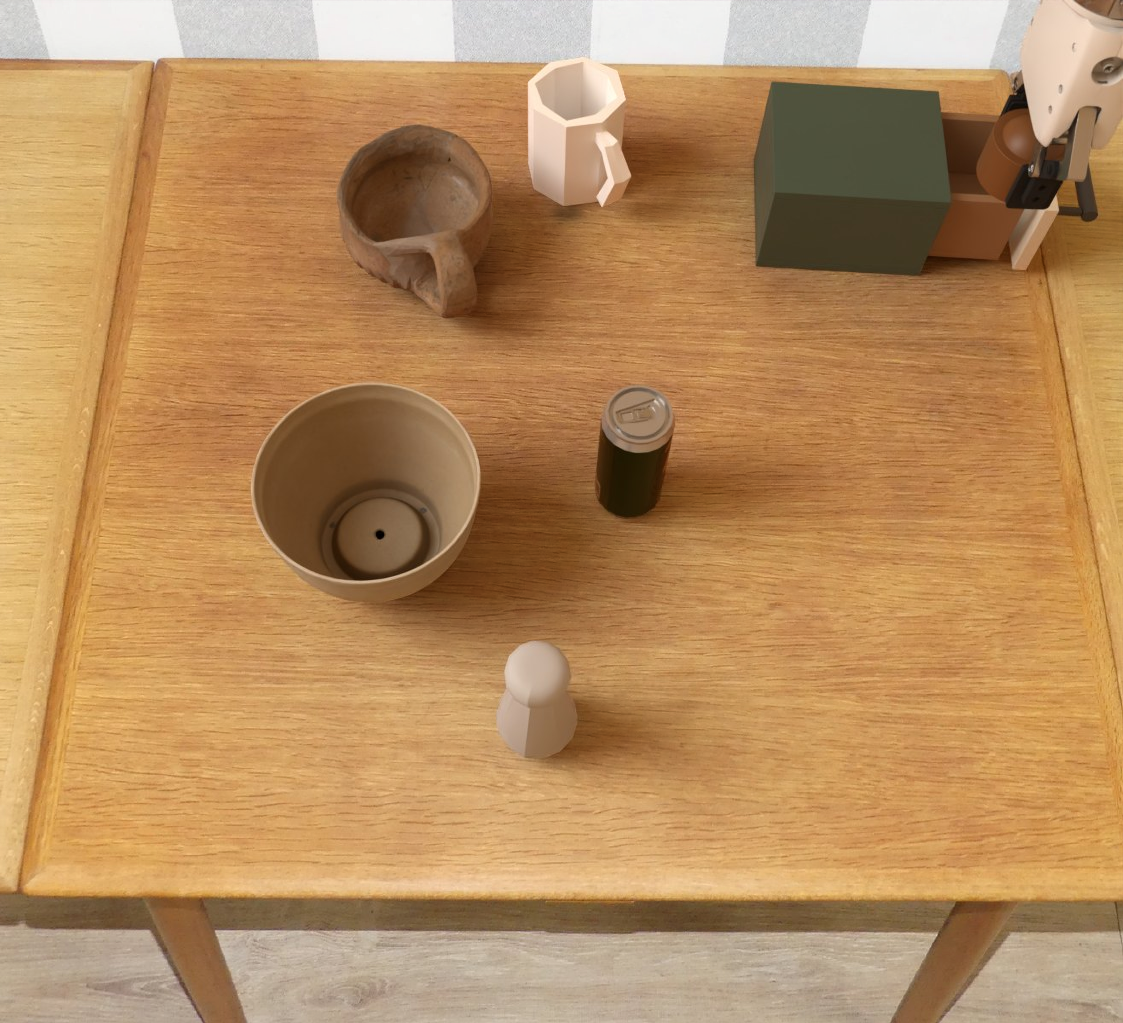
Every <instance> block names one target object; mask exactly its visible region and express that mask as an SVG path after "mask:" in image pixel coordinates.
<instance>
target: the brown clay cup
mask: <svg viewBox="0 0 1123 1023" xmlns="http://www.w3.org/2000/svg"><path fill="white" fill-rule="evenodd" d="M474 148H475V147H473V146H472V145H471V144H470V143H469V142H468V141H467V140H466V139H465V138H463V137H461V136H459V135H457V134H456V133H453V132H451V131H448V130H444V129H441V128H438V127H434V126H430V125H424V124H409V125H403V126H400V127H398V128H395V129H392V130H389V131H386V132H385V133H383V134H381V135H379V136H378V137H376V138H374V139H373V140H372V141H369V142H368V143H367V144H364V145H362V147H360V148H359V149H358V150H357V151H355V153H353V154H352V156H351V157H350V159H349V160H348V162H347V164H346V166H345V167H344V170H343V172H342V174H341V176H340V179H339V181H338V185H337V189H336V200H337V208H338V213H339V215H338V221H339V222H338V226H339V232H340V234H341V235H340V236H341V239H342V242H343V243H344V244H345V246H346V250H347V252H348V254H349V255H350V257H351V258H352V259H353V260H354V261H353V262H354V263H355V264H356V265H357V266H358V267H360V268H361V269H362V270H364V271H365V272H366V273H367V274H368V275H370V276H371V277H373V278H375V279H377V280H379V281H380V282H381V283H384V284H389V285H390V286H391V287H392V288H394V289H404V290H407V291H410V292H413V293H414V294H415V295H416V296H417V297H418V298H420V299H421V300H422V301H423V302H424V303H425V304H426V305H427V306H428V307H429V308H430V309H431V310H433V312H434V313H435V314H436V315H438V317H440V318H442V319H454V318H455V319H456V318H460V317H462V316H465V315H467V314H469V313H471V312H472V311H474V310H475V308H476V307H477V306H478V298H479V293H478V286H477V281H476V277H475V271H474V269H475V268H476V267H477V266H478V265H479V262H480V260H481V257H482V255H483V254H484V253H485V251H486V249H487V247H488V245H489V242H490V240H491V238H492V237H491V236H492V232H493V229H494V228H493V226H494V225H493V224H494V212H493V205H492V199H493V191H494V190H493V183H492V179H491V175H490V172H489V170H488V168H487V166H486V164H485V163H484V161H483V159H482V157H481V156H480V155H479V153H478V152H477V151H476V149H474Z"/></svg>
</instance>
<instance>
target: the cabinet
mask: <svg viewBox="0 0 1123 1023" xmlns="http://www.w3.org/2000/svg"><path fill="white" fill-rule="evenodd" d="M941 107H942V106H941V99H940V91H938V90H925V89H908V88H907V89H905V88H890V87H872V86H871V87H870V86H857V85H856V86H855V85H841V84H840V85H837V84H821V83H804V82H803V83H802V82H788V81H787V82H785V81H771V82H770V87H769V90H768V95H767V99H766V104H765V108H764V113H763V118H762V122H761V126H760V130H759V134H758V135H759V136H758V138H757V144H756V149H755V152H754V157H753V187H754V188H753V191H754V192H753V193H754V195H753V196H754V199H753V200H754V244H755V249H754V250H755V267H763V268H764V267H766V268H780V269H781V268H783V269H796V270H797V269H799V270H815V271H830V272H831V271H834V272H846V273H847V272H848V273H849V272H850V273H864V274H865V273H867V274H880V275H881V274H883V275H900V276H915V277H916V276H917V277H920V274H921V272H922V269H923V267H924V265H925V263H926V261H927V258H928V257H929V256H928V254H929V252H930V250H931V247H932V245H933V243H934V241H935V238H936V236H937V234H938V232H939V229H940V227H941V225H942V223H943V220H944V218H945V216H946V214H947V211H948V209H949V207H950V205H951V203H952V201H951V192H950V184H949V175H948V167H947V158H946V149H945V141H944V132H943V123H942V115H941V112H942V108H941Z"/></svg>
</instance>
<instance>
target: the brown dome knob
mask: <svg viewBox="0 0 1123 1023" xmlns="http://www.w3.org/2000/svg"><path fill="white" fill-rule="evenodd" d="M1067 131H1069V129H1068V130H1067ZM1036 140H1037V138H1036V136H1035V134H1034V130H1033V126H1032V121H1031V117H1030V112H1029V108H1023V109H1016V110H1012V111H1009V112H1007V113H1005V114H1004V115H1002V116H1001V117H1000V118H999V119H998V120H997V121H996V123H995V125H994V127H993V129H992V132H991V134H990V136H989V138H988V140H987V142H986V145H985V147H984V149H983V151H982V153H981V155H980V158H979V160H978V162H977V166H976V173H977V177H978V180H979V182H980V184H981V185H982V187H983V188H984V189H985V190H986V191H987V192H988V193H989V194H990V195H992V196H993V197H995V198H996V199H998V200H1000V201H1003V202H1005V199H1006V197H1007V195H1008V193H1009V191H1010V189H1011V187H1012V185H1013V183H1014V181H1015V179H1016V177H1017V175H1018V173H1019V171H1020V169H1021V167H1022V165H1025V164H1029V163H1030V160H1031V156H1032V153H1033V150H1034V147H1035V143H1036ZM1065 149H1066V145H1049V148H1048V151H1047V154H1046V157H1045V160H1060V161H1062V158H1063V155H1064V152H1065Z"/></svg>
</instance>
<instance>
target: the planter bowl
mask: <svg viewBox="0 0 1123 1023" xmlns="http://www.w3.org/2000/svg"><path fill="white" fill-rule="evenodd" d="M481 487H482V474H481V464H480V459H479V456H478V452H477V449H476V446H475V444H474V442H473V439H472V437H471V435H470V434H469V432H468V430H467V429H466V428H465V426H464V425H463V423H462V422H461V421H460V420H459V419H458V418H457V417H456V415H455V414H454V413H452V412H451V410H450V409H448V407H446V406H445V405H443V404H442V403H440V402H439V401H438V400H436V399H435V398H433V397H431V396H429V395H427V394H425V393H423V392H422V391H419V390H417V389H414V388H411V387H407V386H404V385H399V384H393V383H387V382H376V381H375V382H374V381H373V382H371V381H370V382H369V381H368V382H355V383H350V384H345V385H344V384H343V385H340V386H335V387H332V388H330V389H327V390H324V391H322V392H319V393H317V394H315V395H313V396H311V397H309V398H308V399H306V400H304V401H302V402H300V403H299V404H297V405H296V406H294V407H293V408H291V410H289V411H288V412H287V413H286V414H285V415H284V416H282V417H281V418H280V420H278V422H277V423H276V424H275V425H274V426H273V427H272V429H271V430H270V431H269V433H268V434H267V436H266V437H265V439H264V440H263V442H262V444H261V445H260V448H259V450H258V452H257V455H256V458H255V462H254V465H253V468H252V473H251V479H250V498H251V499H250V500H251V505H252V509H253V510H252V511H253V513H254V517H255V520H256V523H257V525H258V527H259V529H260V530H261V533H262V534H263V536H264V538H265V541H267V542H268V544H269V545H270V547H271V548H272V549H273V550H274V552H275V553H276V554H277V555H278V556H279V557H280V559H281V560H282V561H283V562H284V563H285V564H286V565H287V567H288V568H289V569H290V570H291V571H292V572H293V573H294V574H295V575H297V576H298V577H299V578H300V579H301V580H302V581H304V582H305V583H307V584H308V585H310V586H311V587H313V588H314V589H316V590H318V591H320V592H322V593H324V594H326V595H329V596H331V597H335V598H338V599H341V600H345V601H349V602H356V603H371V604H373V603H385V602H390V601H395V600H399V599H401V598H405V597H407V596H410V595H412V594H415V593H417V592H419V591H421V590H422V589H425V588H426V587H428V586H429V585H431V584H432V583H433V582H435V581H437V579H439V577H441V576H442V575H443V574H444V573H445V572H446V571H447V570H448V569H449V568H450V567H451V566H452V564H453V563H454V562H455V560H456V559H457V558H458V556H459V555H460V553H461V552H462V550H463V549H464V546H465V545H466V543H467V541H468V539H469V537H470V534H471V531H472V528H473V526H474V521H475V519H476V512H477V509H478V505H479V501H480V496H481ZM379 531H381V532H383V534H384V535H383V537H382V538H381V539H379V538H378V537H377V532H379Z"/></svg>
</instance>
